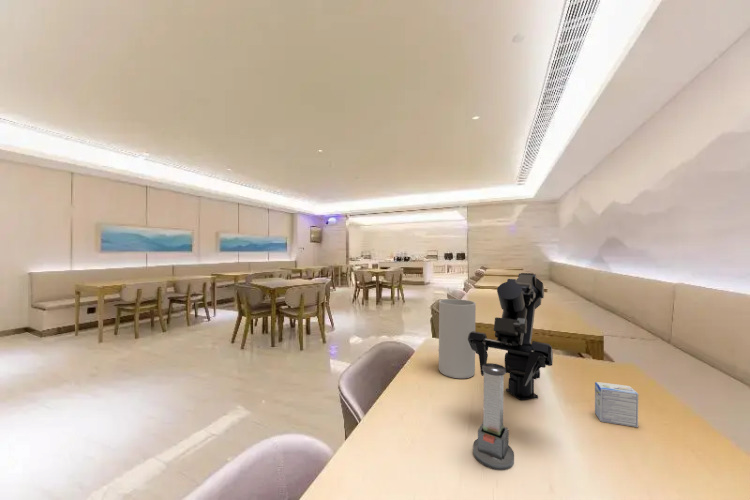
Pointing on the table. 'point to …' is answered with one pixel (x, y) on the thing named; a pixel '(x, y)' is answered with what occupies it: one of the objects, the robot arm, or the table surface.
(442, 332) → the cylinder vase
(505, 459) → the stand
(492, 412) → the column
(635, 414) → the medicine box
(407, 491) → the table surface
